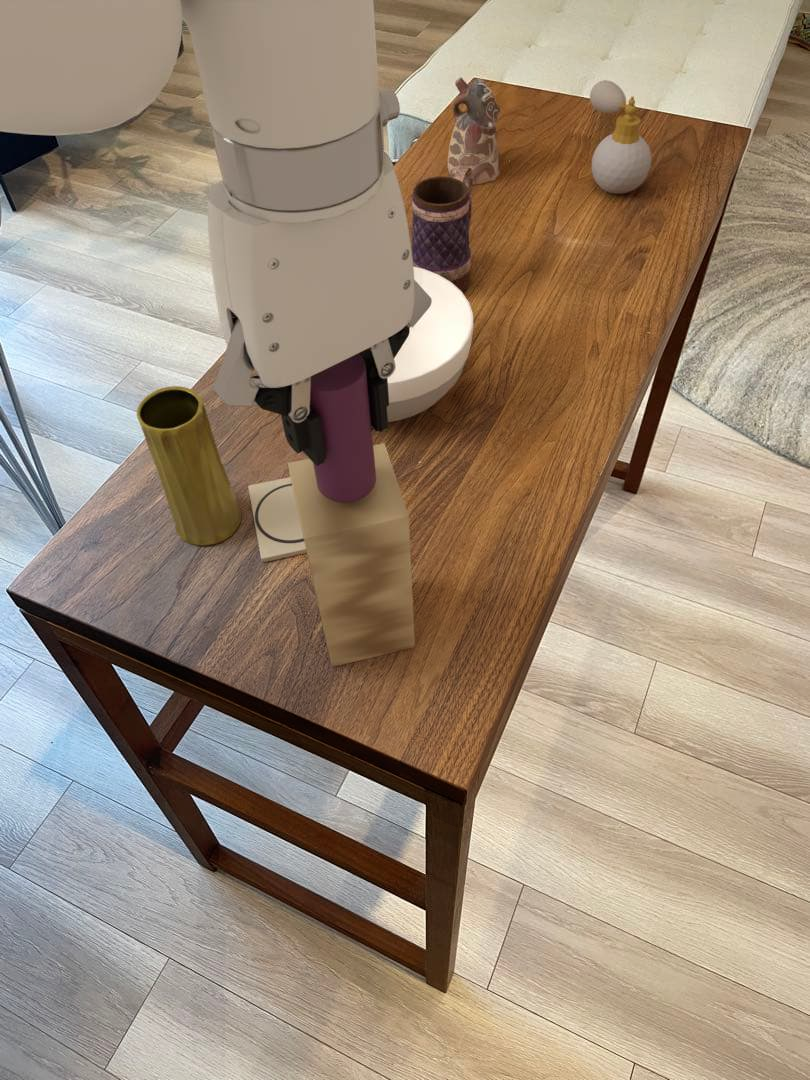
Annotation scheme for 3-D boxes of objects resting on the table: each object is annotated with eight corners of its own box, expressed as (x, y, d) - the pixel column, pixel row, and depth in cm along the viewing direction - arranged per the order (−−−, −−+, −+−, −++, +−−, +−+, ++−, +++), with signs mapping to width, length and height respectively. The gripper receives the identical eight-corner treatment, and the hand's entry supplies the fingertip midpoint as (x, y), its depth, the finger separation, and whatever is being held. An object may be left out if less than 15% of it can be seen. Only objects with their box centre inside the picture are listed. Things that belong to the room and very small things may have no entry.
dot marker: (324, 516, 55) (302, 396, 47) (313, 473, 57) (291, 352, 49) (382, 503, 55) (372, 383, 47) (369, 461, 58) (357, 339, 49)
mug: (451, 307, 96) (452, 211, 86) (399, 289, 98) (394, 193, 88) (493, 262, 101) (499, 166, 91) (442, 246, 103) (443, 151, 94)
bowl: (256, 412, 86) (240, 345, 79) (354, 312, 96) (347, 244, 89) (414, 477, 80) (411, 410, 73) (502, 363, 89) (507, 294, 82)
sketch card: (262, 562, 74) (260, 558, 73) (249, 489, 79) (247, 484, 79) (382, 536, 75) (381, 532, 75) (361, 466, 81) (360, 461, 80)
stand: (331, 667, 67) (304, 538, 54) (316, 598, 72) (287, 462, 58) (415, 647, 68) (409, 516, 55) (395, 580, 72) (384, 442, 59)
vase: (236, 546, 75) (200, 434, 64) (170, 547, 75) (122, 435, 64) (246, 495, 79) (213, 381, 68) (182, 496, 79) (139, 382, 68)
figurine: (488, 189, 111) (492, 96, 101) (439, 179, 113) (439, 87, 103) (507, 163, 115) (512, 72, 105) (459, 154, 117) (460, 63, 107)
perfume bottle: (632, 209, 107) (651, 114, 97) (563, 190, 110) (574, 96, 101) (654, 181, 111) (673, 87, 101) (586, 164, 114) (599, 72, 104)
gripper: (400, 68, 43) (411, 350, 57) (96, 178, 37) (194, 460, 51) (494, 122, 39) (480, 410, 53) (171, 253, 33) (254, 535, 48)
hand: (339, 432), depth 52 cm, fingers closed on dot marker, 3 cm apart
